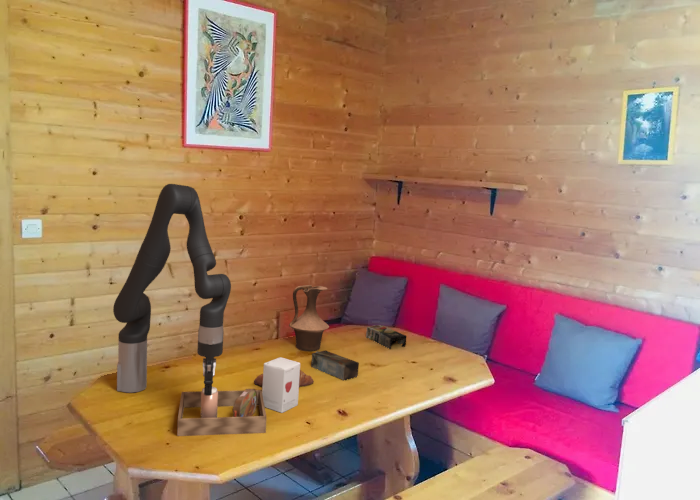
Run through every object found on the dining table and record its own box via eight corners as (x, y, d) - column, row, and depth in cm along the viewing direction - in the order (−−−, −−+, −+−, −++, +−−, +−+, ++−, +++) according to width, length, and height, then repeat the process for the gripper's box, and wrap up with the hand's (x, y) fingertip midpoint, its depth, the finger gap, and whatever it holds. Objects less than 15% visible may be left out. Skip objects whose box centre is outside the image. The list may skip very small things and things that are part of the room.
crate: (177, 436, 176) (177, 419, 175) (181, 406, 196) (181, 391, 195) (265, 432, 182) (266, 417, 181) (260, 404, 202) (261, 390, 201)
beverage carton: (325, 363, 246) (326, 347, 245) (359, 377, 233) (360, 361, 232) (310, 367, 240) (311, 351, 239) (344, 382, 227) (345, 365, 226)
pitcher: (293, 355, 252) (296, 289, 248) (282, 342, 268) (285, 280, 264) (333, 352, 259) (337, 288, 254) (320, 340, 274) (324, 280, 270)
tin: (240, 429, 183) (241, 403, 181) (230, 428, 183) (231, 401, 182) (257, 409, 197) (258, 385, 196) (248, 408, 198) (249, 384, 197)
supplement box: (282, 413, 195) (284, 369, 193) (260, 406, 200) (262, 363, 198) (298, 405, 203) (301, 362, 201) (278, 398, 208) (280, 356, 205)
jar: (200, 423, 185) (201, 392, 184) (200, 416, 190) (201, 386, 188) (217, 422, 186) (217, 392, 185) (217, 415, 191) (217, 386, 190)
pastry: (284, 373, 232) (285, 353, 231) (315, 384, 223) (316, 363, 222) (252, 384, 219) (253, 363, 217) (283, 397, 210) (284, 375, 208)
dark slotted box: (363, 337, 284) (364, 324, 284) (380, 335, 290) (381, 322, 289) (389, 350, 268) (390, 337, 267) (406, 348, 274) (407, 335, 273)
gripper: (198, 331, 190) (196, 380, 192) (196, 346, 176) (194, 399, 179) (223, 332, 191) (220, 380, 194) (223, 346, 178) (220, 398, 180)
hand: (208, 389), depth 186 cm, fingers open, 8 cm apart
